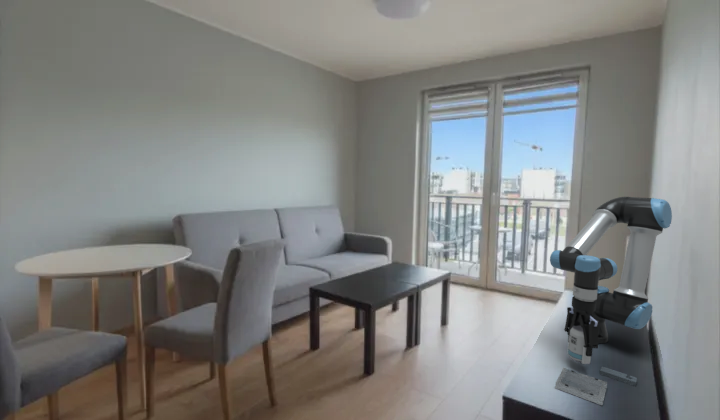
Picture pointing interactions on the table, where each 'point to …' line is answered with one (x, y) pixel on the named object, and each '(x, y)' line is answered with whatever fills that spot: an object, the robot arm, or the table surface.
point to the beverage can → (576, 343)
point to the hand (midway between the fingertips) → (578, 357)
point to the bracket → (618, 376)
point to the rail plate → (582, 386)
